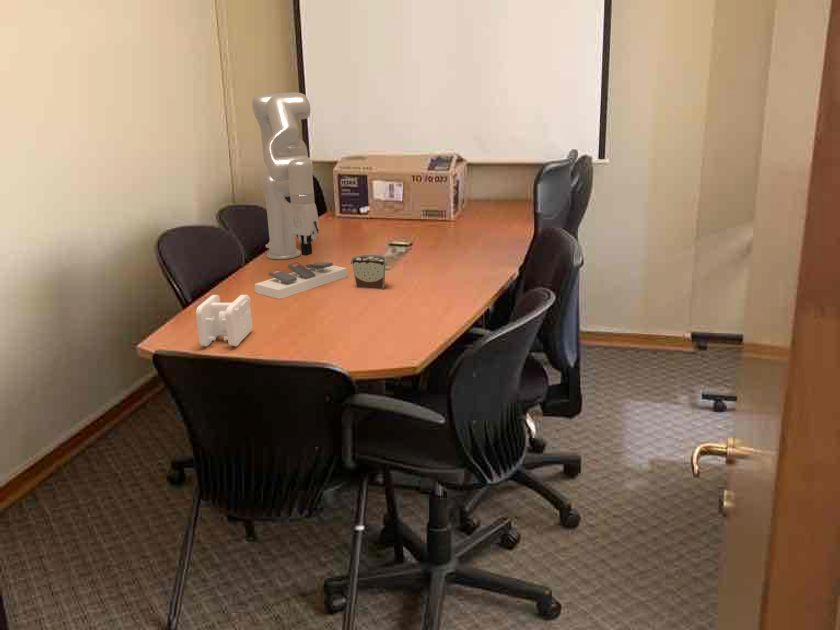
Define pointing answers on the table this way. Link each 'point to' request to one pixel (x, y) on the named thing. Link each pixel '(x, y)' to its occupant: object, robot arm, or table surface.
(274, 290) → the rocker switch panel
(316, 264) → the rocker
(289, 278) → the rocker
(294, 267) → the rocker
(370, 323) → the table surface
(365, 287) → the food container
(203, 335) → the cable organizer
